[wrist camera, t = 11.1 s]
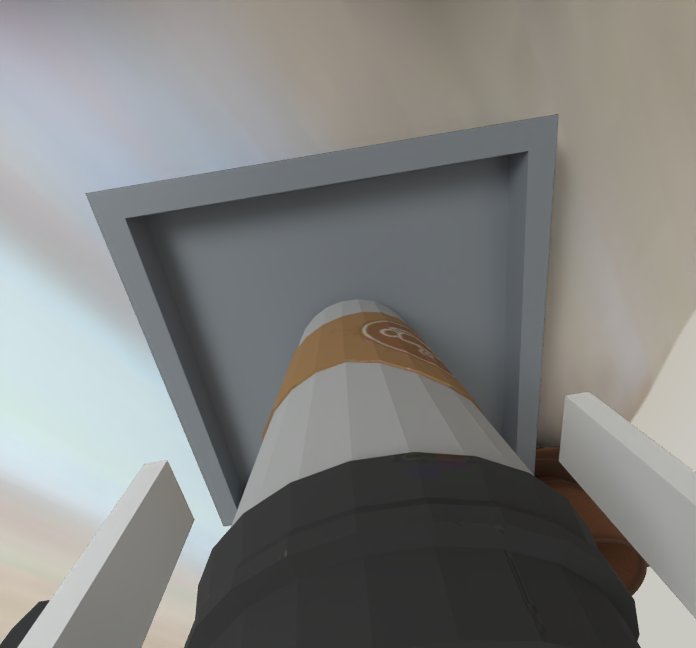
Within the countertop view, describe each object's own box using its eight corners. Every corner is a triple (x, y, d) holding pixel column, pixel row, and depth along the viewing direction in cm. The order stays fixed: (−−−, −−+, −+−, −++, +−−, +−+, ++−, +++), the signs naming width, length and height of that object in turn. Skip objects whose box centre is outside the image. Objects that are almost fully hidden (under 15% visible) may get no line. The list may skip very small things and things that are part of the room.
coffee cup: (457, 322, 19) (841, 702, 5) (379, 430, 21) (477, 895, 7) (326, 248, 17) (311, 507, 3) (257, 375, 19) (63, 856, 5)
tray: (119, 193, 16) (85, 193, 14) (526, 125, 16) (558, 114, 14) (233, 494, 23) (223, 526, 21) (514, 449, 23) (534, 476, 21)
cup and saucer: (601, 410, 23) (694, 483, 17) (607, 526, 27) (683, 616, 21) (432, 460, 23) (465, 546, 18) (464, 565, 28) (499, 662, 22)
